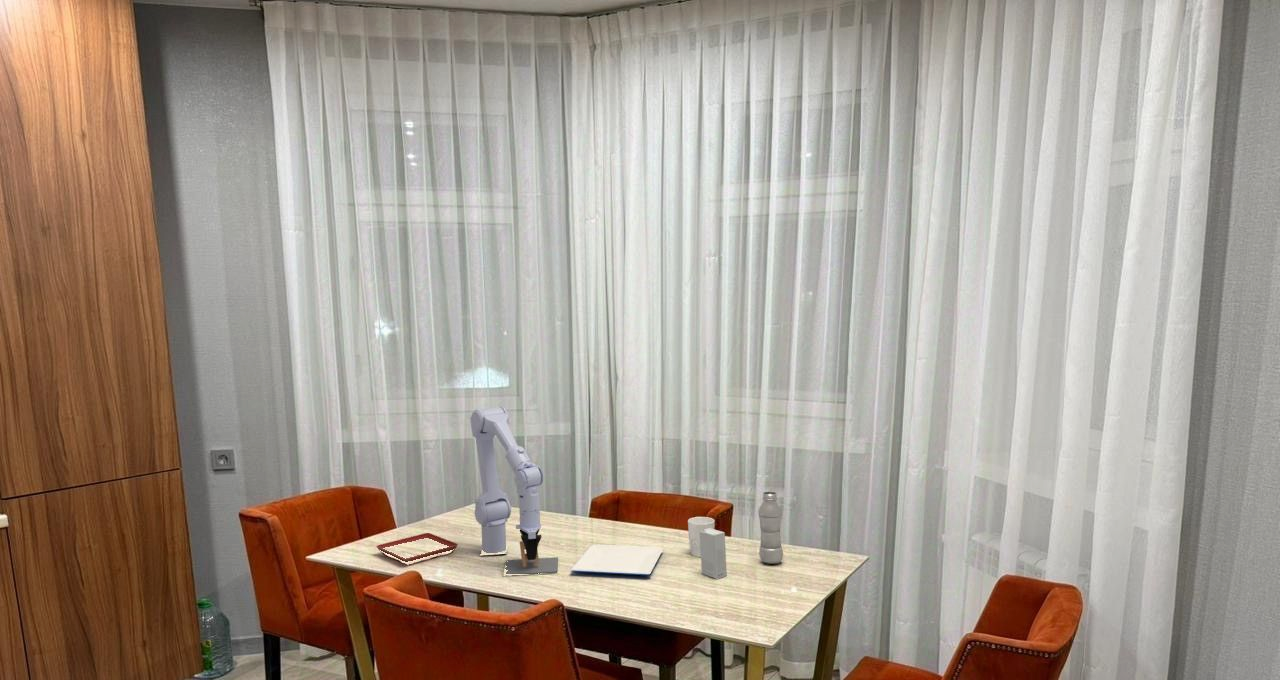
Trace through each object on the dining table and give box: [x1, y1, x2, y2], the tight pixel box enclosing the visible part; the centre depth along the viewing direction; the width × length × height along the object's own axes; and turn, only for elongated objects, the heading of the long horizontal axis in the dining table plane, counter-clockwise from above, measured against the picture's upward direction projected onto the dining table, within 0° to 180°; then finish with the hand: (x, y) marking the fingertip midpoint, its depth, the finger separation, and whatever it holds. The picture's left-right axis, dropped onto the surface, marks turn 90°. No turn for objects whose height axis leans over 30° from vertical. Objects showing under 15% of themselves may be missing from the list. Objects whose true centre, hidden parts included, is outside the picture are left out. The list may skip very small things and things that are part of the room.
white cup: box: [687, 516, 715, 558], centre depth 222 cm, size 8×8×10 cm
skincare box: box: [700, 528, 728, 580], centre depth 204 cm, size 6×4×12 cm
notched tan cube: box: [519, 540, 540, 567], centre depth 213 cm, size 5×5×6 cm
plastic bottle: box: [757, 491, 784, 565], centre depth 213 cm, size 6×7×20 cm
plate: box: [570, 543, 665, 576], centre depth 215 cm, size 22×22×2 cm
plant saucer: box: [376, 532, 459, 562], centre depth 228 cm, size 18×18×3 cm
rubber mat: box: [504, 556, 559, 575], centre depth 214 cm, size 12×15×1 cm
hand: (531, 556), depth 214 cm, fingers closed on notched tan cube, 5 cm apart
